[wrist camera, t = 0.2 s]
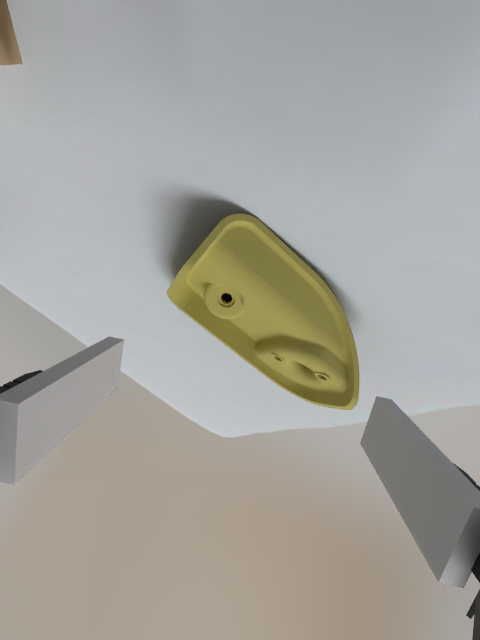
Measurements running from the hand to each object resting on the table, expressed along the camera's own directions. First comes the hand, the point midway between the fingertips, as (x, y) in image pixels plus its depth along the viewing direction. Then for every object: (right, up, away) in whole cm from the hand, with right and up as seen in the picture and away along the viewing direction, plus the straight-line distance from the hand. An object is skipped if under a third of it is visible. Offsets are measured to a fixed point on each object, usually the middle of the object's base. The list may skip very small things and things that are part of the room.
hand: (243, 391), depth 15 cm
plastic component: (+3, +5, +16) cm, 17 cm away
